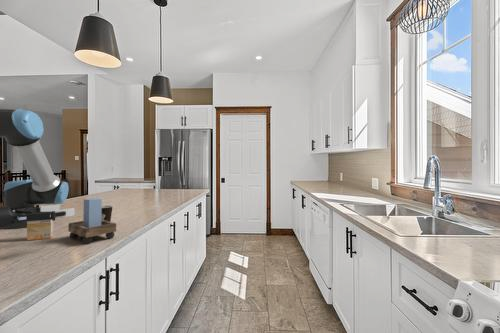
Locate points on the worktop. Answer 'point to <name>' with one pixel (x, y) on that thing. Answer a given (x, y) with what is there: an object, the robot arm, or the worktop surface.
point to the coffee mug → (106, 212)
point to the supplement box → (39, 229)
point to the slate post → (92, 212)
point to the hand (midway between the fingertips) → (66, 209)
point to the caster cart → (91, 230)
